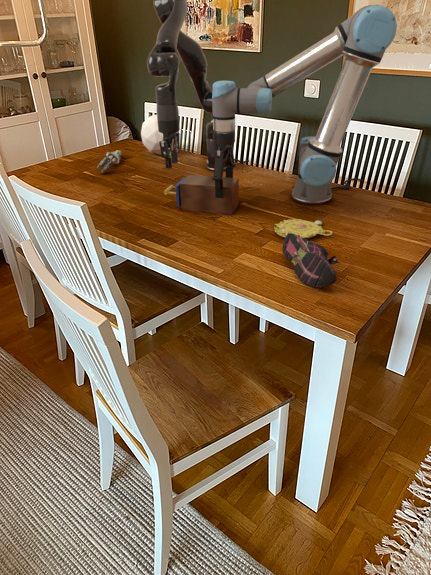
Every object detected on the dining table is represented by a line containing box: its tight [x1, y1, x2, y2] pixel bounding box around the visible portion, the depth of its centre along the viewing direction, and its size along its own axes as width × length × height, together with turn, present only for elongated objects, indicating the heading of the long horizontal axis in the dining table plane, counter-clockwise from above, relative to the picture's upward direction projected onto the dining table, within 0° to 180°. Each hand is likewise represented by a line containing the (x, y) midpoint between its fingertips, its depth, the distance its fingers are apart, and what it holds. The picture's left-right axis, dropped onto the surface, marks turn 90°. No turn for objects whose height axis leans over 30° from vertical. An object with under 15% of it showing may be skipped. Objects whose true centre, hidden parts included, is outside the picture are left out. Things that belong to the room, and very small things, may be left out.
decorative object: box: [273, 218, 333, 239], centre depth 145 cm, size 21×2×20 cm
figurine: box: [96, 150, 123, 174], centre depth 213 cm, size 7×8×30 cm
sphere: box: [140, 114, 180, 156], centre depth 225 cm, size 19×20×20 cm
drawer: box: [163, 177, 186, 208], centre depth 165 cm, size 23×9×8 cm, turn 74°
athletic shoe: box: [282, 233, 341, 288], centre depth 122 cm, size 11×22×12 cm
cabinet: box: [180, 174, 240, 216], centre depth 164 cm, size 19×10×10 cm, turn 74°
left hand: (171, 165), depth 162 cm, fingers open, 5 cm apart
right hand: (224, 191), depth 162 cm, fingers open, 13 cm apart
